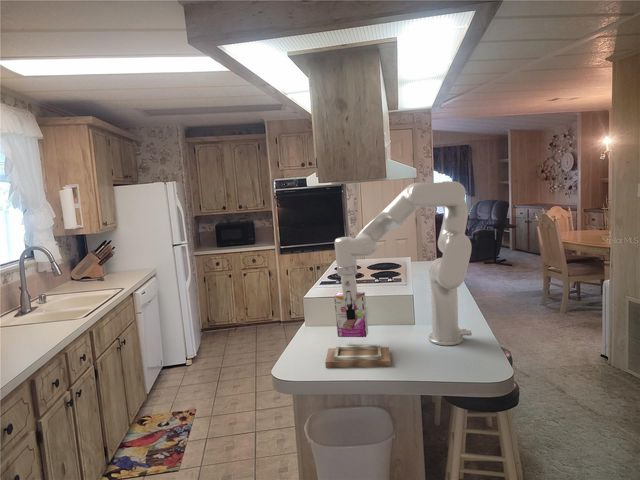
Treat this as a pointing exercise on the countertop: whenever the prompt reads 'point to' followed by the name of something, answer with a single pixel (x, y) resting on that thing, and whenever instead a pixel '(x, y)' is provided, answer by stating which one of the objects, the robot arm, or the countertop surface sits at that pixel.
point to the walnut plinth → (358, 356)
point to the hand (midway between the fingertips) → (351, 316)
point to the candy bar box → (351, 326)
